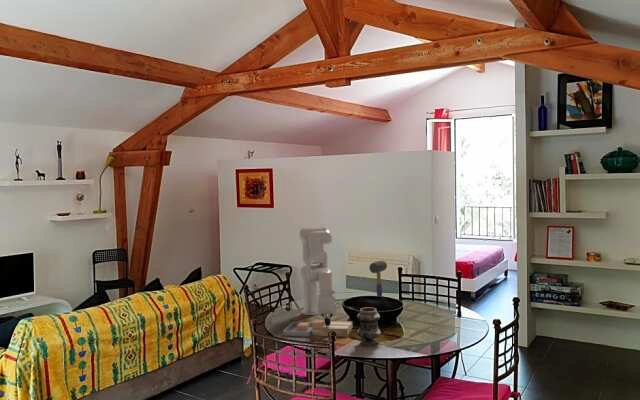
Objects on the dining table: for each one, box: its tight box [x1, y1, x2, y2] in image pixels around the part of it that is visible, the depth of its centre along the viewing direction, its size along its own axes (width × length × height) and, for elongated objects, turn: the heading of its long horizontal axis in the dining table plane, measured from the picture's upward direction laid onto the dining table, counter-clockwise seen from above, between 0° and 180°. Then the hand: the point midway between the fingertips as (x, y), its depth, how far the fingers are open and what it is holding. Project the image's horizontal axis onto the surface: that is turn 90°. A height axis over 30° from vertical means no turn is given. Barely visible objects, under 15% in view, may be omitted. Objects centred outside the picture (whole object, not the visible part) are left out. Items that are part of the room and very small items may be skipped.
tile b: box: [312, 319, 326, 328], centre depth 285 cm, size 6×6×3 cm
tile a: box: [297, 323, 310, 331], centre depth 294 cm, size 6×6×3 cm
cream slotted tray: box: [311, 320, 354, 337], centre depth 287 cm, size 15×20×4 cm
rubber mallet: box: [368, 260, 388, 298], centre depth 341 cm, size 12×8×30 cm, turn 141°
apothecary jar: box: [356, 306, 382, 347], centre depth 263 cm, size 12×12×18 cm
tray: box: [282, 321, 313, 338], centre depth 291 cm, size 19×16×2 cm
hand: (327, 325), depth 283 cm, fingers closed
